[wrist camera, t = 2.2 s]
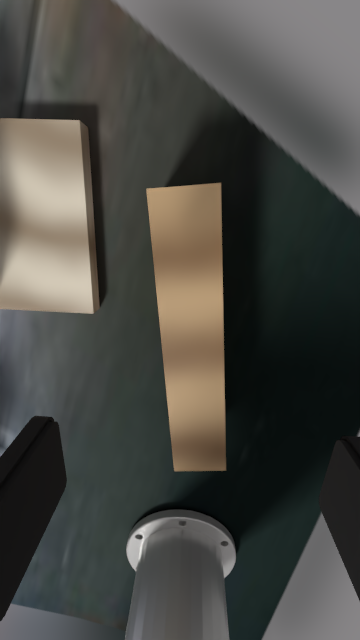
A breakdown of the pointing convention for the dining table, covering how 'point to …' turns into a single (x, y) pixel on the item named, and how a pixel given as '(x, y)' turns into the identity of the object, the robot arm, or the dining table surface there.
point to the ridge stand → (46, 217)
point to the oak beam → (191, 319)
